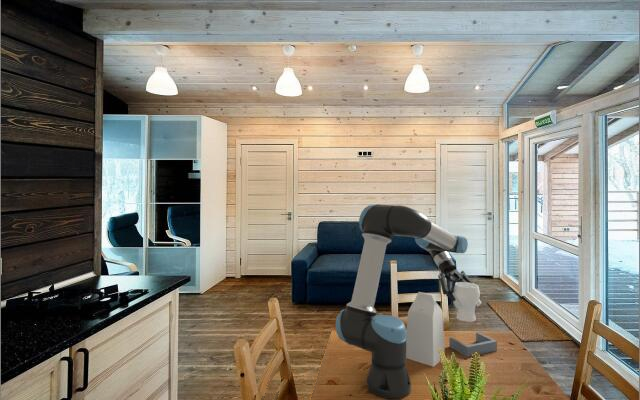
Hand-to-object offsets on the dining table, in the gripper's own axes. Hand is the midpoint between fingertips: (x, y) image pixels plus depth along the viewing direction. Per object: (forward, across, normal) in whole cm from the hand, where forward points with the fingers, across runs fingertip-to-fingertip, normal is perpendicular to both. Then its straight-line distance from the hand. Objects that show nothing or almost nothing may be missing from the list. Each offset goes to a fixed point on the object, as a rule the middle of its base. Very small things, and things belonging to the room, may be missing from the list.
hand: (469, 306), depth 157 cm
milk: (+13, +24, -12) cm, 30 cm away
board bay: (+15, 0, -10) cm, 18 cm away
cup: (+3, 0, -6) cm, 7 cm away
